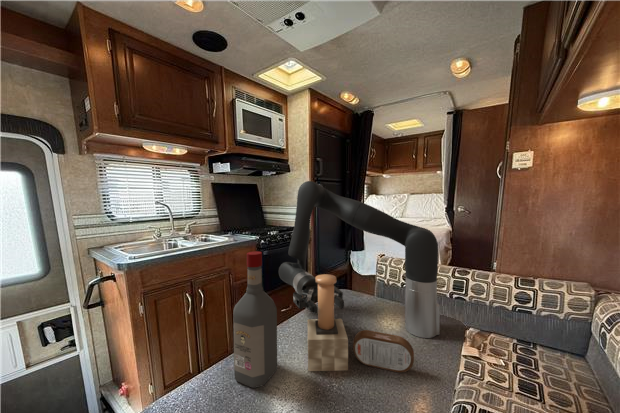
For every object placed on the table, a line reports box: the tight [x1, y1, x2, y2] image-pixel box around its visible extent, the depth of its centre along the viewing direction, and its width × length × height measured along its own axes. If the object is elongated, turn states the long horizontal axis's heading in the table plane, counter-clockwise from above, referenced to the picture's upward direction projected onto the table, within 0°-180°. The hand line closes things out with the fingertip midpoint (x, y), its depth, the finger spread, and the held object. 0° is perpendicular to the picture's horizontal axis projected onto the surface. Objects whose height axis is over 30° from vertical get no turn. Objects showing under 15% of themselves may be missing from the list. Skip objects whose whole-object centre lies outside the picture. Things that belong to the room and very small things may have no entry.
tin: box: [352, 329, 415, 374], centre depth 60 cm, size 15×3×8 cm, turn 71°
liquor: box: [232, 250, 278, 389], centre depth 58 cm, size 9×9×30 cm
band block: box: [307, 318, 349, 372], centre depth 64 cm, size 10×10×9 cm
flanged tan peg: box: [315, 273, 337, 330], centre depth 63 cm, size 6×6×21 cm
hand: (329, 307), depth 61 cm, fingers open, 7 cm apart
